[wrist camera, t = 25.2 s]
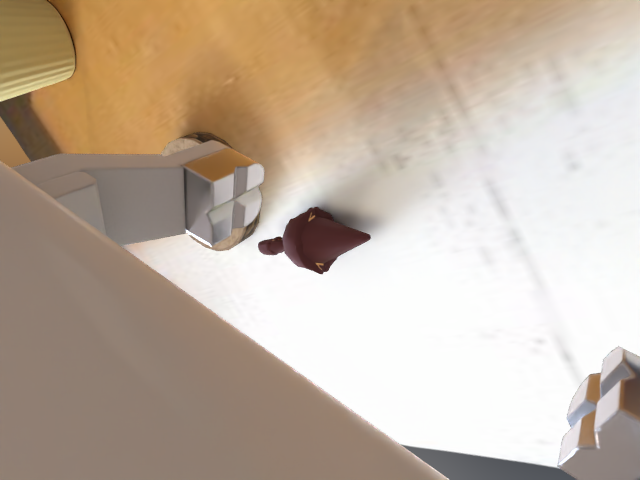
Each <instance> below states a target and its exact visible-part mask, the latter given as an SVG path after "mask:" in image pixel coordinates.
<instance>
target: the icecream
mask: <svg viewBox="0 0 640 480" xmlns="http://www.w3.org/2000/svg"><path fill="white" fill-rule="evenodd" d="M370 238H371V237H370V235H369V234H367V233H364V232H361V231H358V230H356V229H353V228H350V227H347V226H345V225H342V224H339V223H337V222H334V220H333V217H332V215H330V214H329V213H327V212H325V211H323V210H321V209H320V208H318V207H314V208H309V209H308V211H307V212H305V213H302V214H300V215H299V216H297V217H296V218H294V219H291V220H290V221H289V223H288V224H287V226H286V229H285V232H284V235H283V238H282V237H276V238H274V239H269V240H264V241H261V242H259V244H258V248H259V250H260V252H261V253H263V254H266V255H277V254H278V253H282V252H283V251H285V254H286V255H287V256H288V257H289V258H290V259H291V261H292V262H293V263H294V264H296V265H297V266H298V267H303V268H306V269H309V270H313V271H315V272H317V273H319V274H323V272H327V271H328V270H329V268H330V266H331V265H332V264H333V262H334V261H335V260H336V259H337V257H338V256H339V255H341V254H343V253H345V252H347V251H349V250H351V249H353V248H355V247H357V246H359V245H361V244H363V243H365V242H367V241H368V240H370Z"/></svg>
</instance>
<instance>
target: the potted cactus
mask: <svg viewBox="0 0 640 480" xmlns="http://www.w3.org/2000/svg"><path fill="white" fill-rule="evenodd" d="M74 69H75V53H74V47H73V43H72V40H71V37H70V34H69V31H68V29H67V27H66V25H65V23H64V21H63V19H62V17H61V16H60V14H59V13H58V11H57V10H56V9H55V8H54V7H53V6H52V5H51V4H50V3H49V2H48V1H46V0H0V102H1V101H3V100H6V99H9V98H12V97H15V96H18V95H21V94H24V93H27V92H30V91H33V90H36V89H39V88H42V87H45V86H48V85H51V84H54V83H57V82H60V81H63V80H66V79H68V78H70V77H71V76H72V74H73V72H74Z"/></svg>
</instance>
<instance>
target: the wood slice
mask: <svg viewBox="0 0 640 480" xmlns="http://www.w3.org/2000/svg"><path fill="white" fill-rule="evenodd" d="M211 140H213V141H217V142H220V143H222V144H224V145H226V146H228V147H230V148H231V149H233V148H232V147H231V146H230V145H228V144H227V143H226V142H225V141H224V140H222V139H220V138H218V137H216V136H214V135H212V134H210V133H200V132H196V133H193V134H190V135H187V136H184V137H181V138H178V139H176V140H174V141H171V142H169V143H168V144H167V146H166V147H165V148H164V150H163V151H162V153H161V155H162V156H164V157H165V156H168V155H171V154H174V153H176V152H179V151H182V150H185V149H188V148H191V147H194V146H196V145H199V144H202V143H205V142H208V141H211ZM259 214H260V210H259V213H258V215H257V216H256V217H255V219H254V220H253V221H252V223H250V224H248V225H247V226H245V227H244V228H235V229H232V233H231V235H230V236H229V237H227V238H225V239H224V240H222V241H220V242H219V243H217V244H215V245H214V246H212V247H211V246H209V245H207V244H206V243H204V242H202V241H201V240H199V239H197V238H196V237H194V236H192V235H190V234H189V233H187V232H186V233H187V234H188V235H189V236H190V237H191V238H192V239H193V240H195V241H196V242H198V243H199V244H201V245H202V246H204V247H206V248H209V249H212V250H215V251H224V250H229V249H231V248H233V247H234V246H236V245H237V244H239V243H240V242H242V241H244V240H245V239H246V238H248V237H249V236H251V235H252V234H253V232H254V231H255V229H256V227H257V225H258V223H259Z"/></svg>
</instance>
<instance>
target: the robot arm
mask: <svg viewBox="0 0 640 480" xmlns="http://www.w3.org/2000/svg"><path fill="white" fill-rule="evenodd" d="M263 182H264V168H263V167H262V165H261V164H260V163H258V162H256V161H254V160H252V159H250V158H248V157H247V156H245V155H243V154H241V153H239V152H237V151H235V150H234V149H231V148H230V147H228V146H226V145H224V144H222V143H220V142H217V141H213V140H211V141H208V142H205V143H202V144H199V145H196V146H194V147H191V148H188V149H185V150H182V151H179V152H176V153H174V154H171V155H168V156H165V157H164V156H162V155H160V154H57V155H53V156H50V157H47V158H43V159H40V160H36V161H33V162H29V163H26V164H22V165H19V166H16V167H12V168H10V167H9V166H7V165H6V164H4V163H3V162H2V161H0V480H449V479H448V478H446V477H445V476H443V475H442V474H441V473H439V472H438V471H437V470H435V469H434V468H432V467H431V466H430V465H428V464H427V463H425V462H424V461H422V460H421V459H419V458H418V457H417V456H415V455H414V454H413V453H411V452H410V451H408V450H407V449H406V448H404V447H403V446H401V445H400V444H399V443H397V442H396V441H394V440H393V439H392V438H390V437H389V436H387V435H386V434H385V433H383V432H382V431H380V430H379V429H378V428H376V427H375V426H373V425H372V424H370V423H369V422H368V421H366V420H365V419H363V418H362V417H361V416H359V415H358V414H356V413H355V412H354V411H352V410H351V409H349V408H348V407H347V406H345V405H344V404H342V403H341V402H340V401H338V400H337V399H335V398H334V397H333V396H331V395H330V394H328V393H327V392H325V391H324V390H323V389H321V388H320V387H318V386H317V385H316V384H314V383H313V382H311V381H310V380H309V379H307V378H306V377H304V376H303V375H302V374H300V373H299V372H297V371H296V370H295V369H293V368H292V367H290V366H289V365H287V364H286V363H285V362H283V361H282V360H280V359H279V358H278V357H276V356H275V355H273V354H272V353H271V352H269V351H268V350H266V349H265V348H264V347H262V346H261V345H259V344H258V343H256V342H255V341H254V340H252V339H251V338H249V337H248V336H247V335H245V334H244V333H242V332H241V331H240V330H238V329H237V328H235V327H234V326H233V325H231V324H230V323H228V322H227V321H226V320H224V319H223V318H221V317H220V316H218V315H217V314H216V313H214V312H213V311H211V310H210V309H209V308H207V307H206V306H204V305H203V304H202V303H200V302H199V301H197V300H196V299H195V298H193V297H192V296H190V295H189V294H187V293H186V292H185V291H183V290H182V289H180V288H179V287H178V286H176V285H175V284H173V283H172V282H171V281H169V280H168V279H166V278H165V277H164V276H162V275H161V274H159V273H158V272H157V271H155V270H154V269H152V268H151V267H149V266H148V265H147V264H145V263H144V262H142V261H141V260H140V259H138V258H137V257H135V256H134V255H133V254H131V253H130V252H128V251H127V250H126V249H124V248H123V247H121V246H123V245H129V244H134V243H139V242H144V241H149V240H155V239H160V238H165V237H170V236H175V235H180V234H185V233H186V232H187V233H189V234H190V235H192V236H194V237H196V238H197V239H199V240H201V241H202V242H204V243H206V244H207V245H209V246H211V247H212V246H214V245H215V244H217V243H219V242H220V241H222V240H224V239H225V238H227V237H229V236H230V235H231V233H232V229H235V228H244V227H245V226H247V225H248V224H250V223H252V221H253V220H254V219H255V217H256V216H257V215H258V213H259V210H260V208H261V204H262V195H261V192H260V190H259V186H260V185H261V184H262V183H263ZM567 420H568V422H569V424H570V426H571V429H570V430H569V431H568V432H567V433H566V434H565V435H564V436H563V439H562V444H561V450H560V455H559V461H558V466H557V467H559V468H560V469H562V470H563V471H565V472H566V473H568V474H569V475H571V476H572V477H574V478H575V479H577V480H640V357H639V356H637V355H635V354H633V353H631V352H629V351H627V350H625V349H623V348H621V347H619V346H618V347H617V348H615V349H614V350H612V351H611V352H610V353H609V354H608V355H607V356H606V357H605V358H604V359H603V364H602V371H601V373H596V374H590V375H589V376H588V377H587V378H586V379H585V380H584V381H583V383H582V384H581V385H580V386H579V388H578V390H577V391H576V393H575V395H574V396H573V398H572V401H571V404H570V406H569V410H568V414H567Z"/></svg>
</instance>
